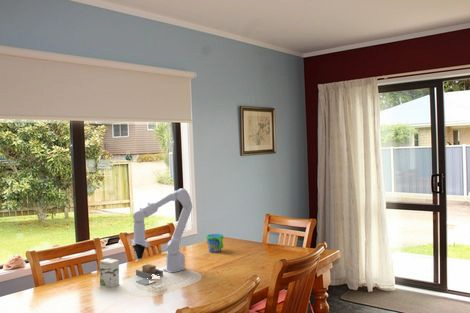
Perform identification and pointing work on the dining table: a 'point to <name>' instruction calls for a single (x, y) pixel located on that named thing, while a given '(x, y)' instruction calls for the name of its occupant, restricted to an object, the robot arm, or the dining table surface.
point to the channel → (147, 275)
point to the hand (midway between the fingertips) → (139, 258)
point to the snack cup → (215, 242)
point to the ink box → (109, 272)
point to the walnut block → (149, 269)
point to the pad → (144, 281)
